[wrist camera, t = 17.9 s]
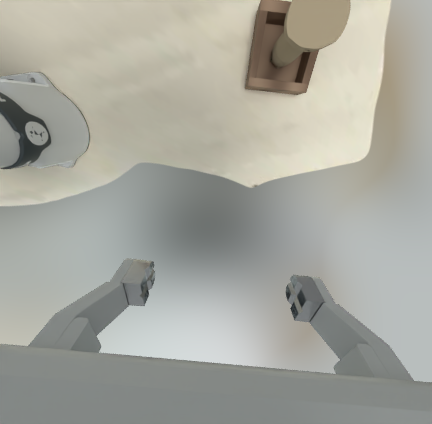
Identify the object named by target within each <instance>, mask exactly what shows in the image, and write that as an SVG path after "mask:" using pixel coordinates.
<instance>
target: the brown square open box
mask: <svg viewBox="0 0 432 424" xmlns="http://www.w3.org/2000/svg"><path fill="white" fill-rule="evenodd" d="M290 4H291V2H288V1H280V0H261V1H260V4H259V7H258V11H257V14H256V20H255V27H254V33H253V40H252V47H251V53H250V60H249V66H248V73H247V79H246V86H245V89H252V90H261V91H269V92H277V93H286V94H294V95H298V94H302V93H306V91H307V88H308V85H309V81H310V78H311V75H312V71H313V68H314V65H315V61H316V58H317V55H318V51H319V50H317V51H314V52H302V53H301V54H300V55H299V56H298V57H297V58H296V59H295V60H294V61H293V62H291V63H290V64H288V65H286V66H283V67H280V68H275V66H274V64H273V63H271V62H270V59H271V56H272V53H271V52H272V50H273V48H274V45H275V43H276V41H277V40H278V38H279V37H280V36H281V34H282V33H283V32H284V22H285V17H286V13H287V11H288V8H289V6H290Z"/></svg>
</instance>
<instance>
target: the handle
mask: <svg viewBox="0 0 432 424" xmlns="http://www.w3.org/2000/svg"><path fill="white" fill-rule="evenodd" d="M349 13H350V0H292V2H291V4H290V6H289V8H288V11H287V13H286V17H285V22H284V32H283V33H282V34H281V36H280V37H279V38H278V40H277V41H276V43H275V45H274V48H273V50H272V52H271V53H272V56H271V59H270V62H271V63H273V64H274V66H275V68H280V67H283V66H286V65H288V64H290V63H291V62H293V61H294V60H295V59H296V58H297V57H298V56H299V55H300V54H301V53H302V52H314V51H317V50H320V49H322V48H324V47H326V46H328V45H330V44H332V43H334V42H336V41H337V39H338V38H339V37H340V36H341V34H342V32H343V31H344V29H345V26H346V24H347V21H348V17H349Z"/></svg>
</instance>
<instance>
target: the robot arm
mask: <svg viewBox="0 0 432 424" xmlns="http://www.w3.org/2000/svg"><path fill="white" fill-rule="evenodd" d="M34 79H35V81H34ZM88 144H89V131H88V127H87V124H86V122H85V120H84V118H83V116H82V114H81V113H80V111H79V110H78V108H77V107H76V106H75V105H74V104H73V102H71V101H70V100H69V99H68V98H67V97H66V96H65V95H63V94H62V93H61V92H59V91H58V90H57V89H56V88H55V87H54V86H53V85H52V83H51V82H50V81H49V80H48V78H47V77H46V76H45V75H43V74H42V73H40V72H30V73H23V74H16V75H9V76H2V77H0V169H11V168H18V167H23V166H25V165H28V166H34V167H37V168H45V167H50V166H54V165H58V166H62V167H66V168H70V167H73V166H74V164H75V162H76V159H77V158H78V157H79V156H81V155H82V154H83V153H84V152H85V151H86V149H87V147H88ZM153 268H154V262H153V261H146V260H137V259H129V258H127V259H125V260H124V261H123V263H122V265H121V266H120V267H119V269H118V270H117V272H116V273H115V275H114V276H113V278H112V279H111V281H110V282H106V283H104V284H103V285H101V286H99V287H98V288H96V289H94V290H93V291H91V292H90V293H88V294H86V295H85V296H83V297H82V298H80V299H78V300H77V301H75V302H73V303H72V304H71V305H69V306H67V307H66V308H64V309H63V310H61V311H59V312H58V313H56V314H55V315H54V316H53V317H52V318H51V319H50V321H49V322H48V323H47V324H46V325H45V327H44V328H43V329H42V330H41V331H40V332H39V334H38V335H37V336H36V337H35V338H34V340H33V341H32V342H31V343H30V345H29V346H17V345H8V344H0V424H432V383H431V382H420V381H414V380H413V379H412V377H411V376H410V374H409V373H408V371H407V370H406V369H405V367H404V366H403V365H402V363H401V362H400V360H399V359H398V358H397V356H396V355H395V353H394V352H393V350H392V349H391V348H390V346H389V345H388V344H387V343H385V342H384V341H383V340H382V339H381V338H379V337H378V336H377V335H375V334H374V333H373V332H372V331H371V330H369V329H368V328H367V327H366V326H365V325H363V324H362V323H361V322H360V321H358V320H357V319H356V318H355V317H354V316H352V315H351V314H350V313H349V312H347V311H346V310H345V309H344V308H343V307H341V306H340V305H339V304H336V303H335V302H334V301H333V298H332V297H331V295H330V293H329V292H328V290H327V288H326V286H325V285H324V283H323V281H322V280H321V279H320V278H319V277H308V276H298V275H293V276H292V277H291V278H290V280H291V282H290V283H289V284H288V285H287V287H286V297H287V300H288V302H289V303H290V304H291V305H292V306H291V308H290V309H291V311H292V315H293V317H294V320H295V321H304V322H310V324H311V325H312V326H313V328H314V329H315V330H316V331H317V333H318V334H319V335H320V336H321V337H322V338H323V340H324V341H325V342H326V343H327V344H328V346H329V347H330V348H331V349H332V350H333V351H334V353H335V354H336V355H337V356H338V358H339V359H340V361H339V362H338V363H337V364H336V365H335V366H334V370H335V372H336V374H331V373H320V372H309V371H298V370H286V369H275V368H265V367H253V366H242V365H231V364H220V363H208V362H197V361H187V360H175V359H164V358H152V357H142V356H130V355H120V354H119V355H118V354H108V353H99V350H100V348H101V344H100V342H99V340H98V338H97V335H98V334H99V333H100V332H101V331H102V330H103V329H104V328H105V327H106V326H108V325H109V324H110V323H111V322H112V321H113V320H114V319H115V318H116V317H117V316H118V315H119V314H121V313H122V312H123V311H124V310H125V309H126V308H127V307H128V305H134V306H135V305H136V306H145V303H146V301H147V298H148V296H149V291H148V290H150V289H151V288H152V286H153V284H154V280H155V271H154V270H153Z"/></svg>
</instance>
